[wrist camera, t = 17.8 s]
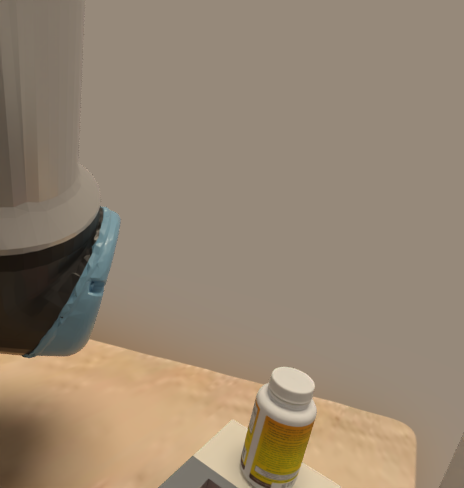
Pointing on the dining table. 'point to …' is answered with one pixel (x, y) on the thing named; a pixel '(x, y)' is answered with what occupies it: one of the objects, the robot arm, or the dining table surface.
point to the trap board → (231, 465)
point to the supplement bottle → (279, 429)
